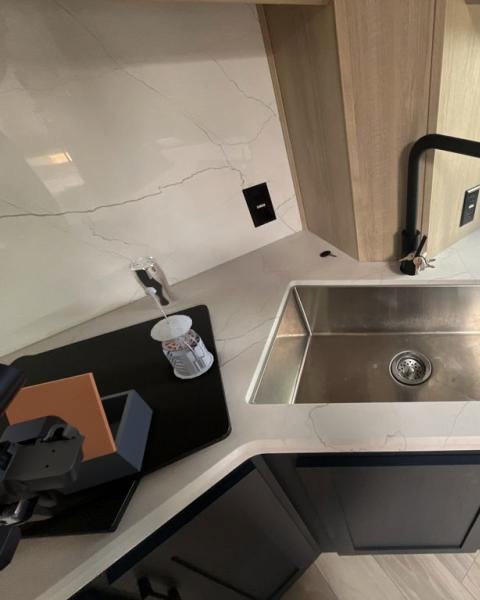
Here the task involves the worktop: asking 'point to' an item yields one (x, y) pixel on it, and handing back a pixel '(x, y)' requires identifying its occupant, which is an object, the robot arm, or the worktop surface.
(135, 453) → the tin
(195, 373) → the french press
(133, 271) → the beer glass
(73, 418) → the orange square plate
